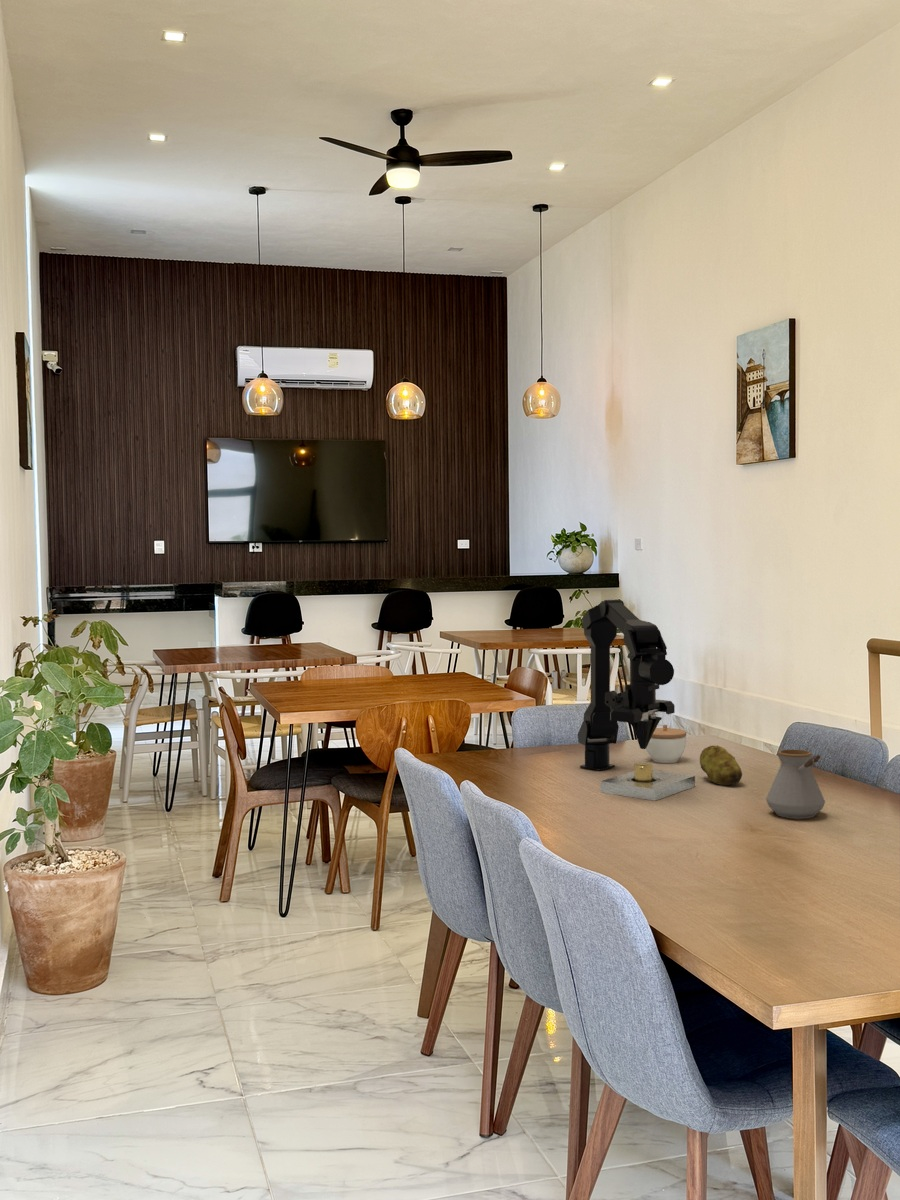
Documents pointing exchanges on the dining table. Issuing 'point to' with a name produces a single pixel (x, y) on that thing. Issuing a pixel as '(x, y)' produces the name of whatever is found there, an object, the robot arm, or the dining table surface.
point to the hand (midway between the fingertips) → (643, 748)
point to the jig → (648, 785)
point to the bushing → (643, 772)
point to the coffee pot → (796, 786)
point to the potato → (720, 766)
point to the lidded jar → (666, 744)
